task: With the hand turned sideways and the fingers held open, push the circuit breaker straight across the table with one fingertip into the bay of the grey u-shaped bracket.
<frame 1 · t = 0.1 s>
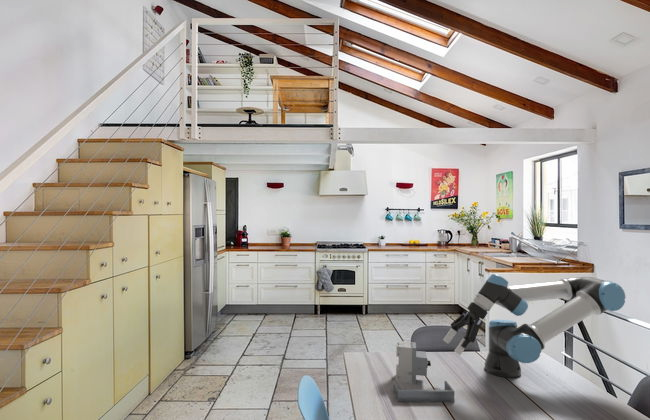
hand: (451, 347, 158), 15 cm above the table, tool tilted 35°, fingers open, 13 cm apart
grey u-shaped bracket: (420, 393, 149), on the table
circuit breaker: (413, 380, 161), on the table
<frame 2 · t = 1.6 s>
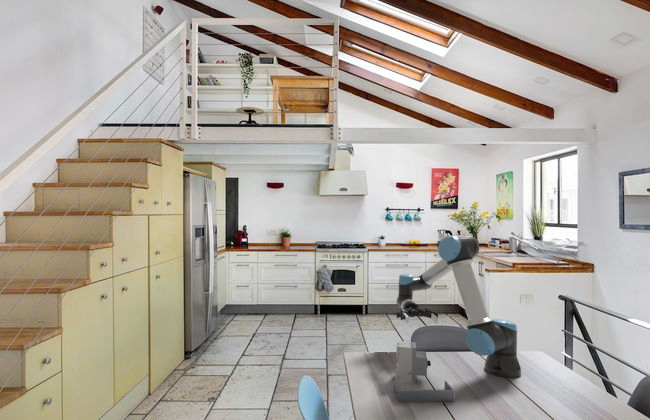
hand: (422, 320, 173), 22 cm above the table, tool horizontal, fingers open, 13 cm apart
nothing on the table moved.
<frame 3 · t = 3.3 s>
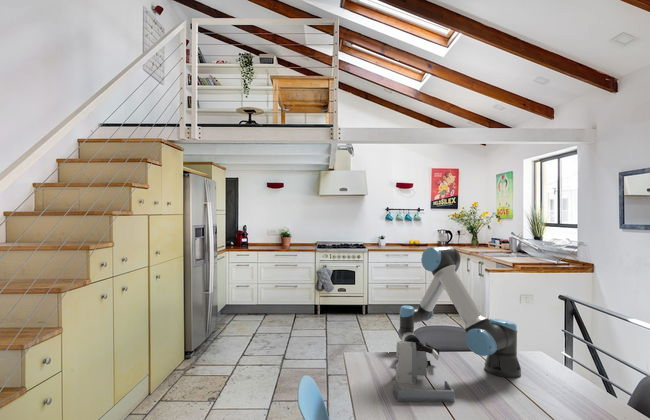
hand: (422, 357, 171), 6 cm above the table, tool horizontal, fingers open, 13 cm apart
nothing on the table moved.
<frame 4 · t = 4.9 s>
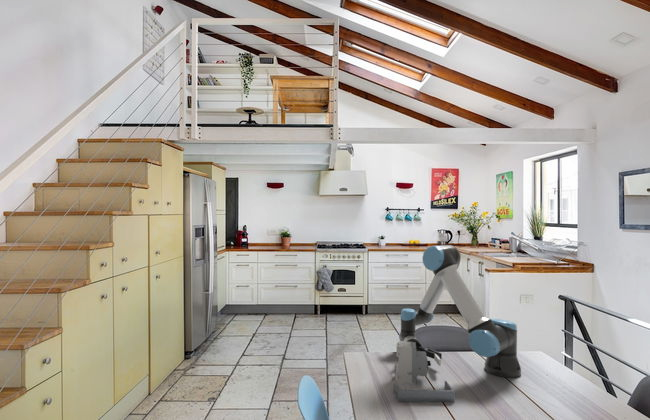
hand: (424, 362, 165), 6 cm above the table, tool horizontal, fingers open, 13 cm apart
circuit breaker: (413, 380, 161), on the table, touching gripper
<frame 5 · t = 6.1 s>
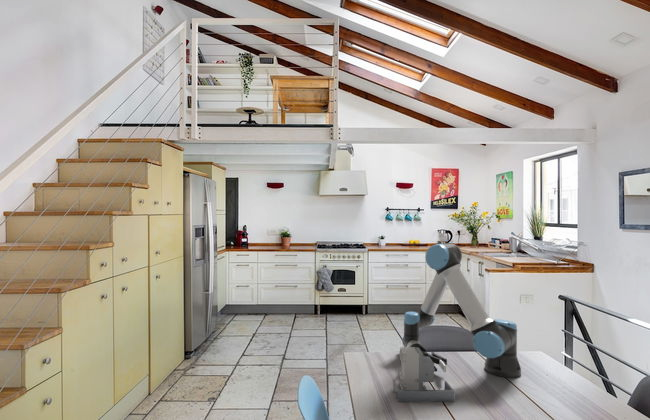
hand: (429, 368, 158), 6 cm above the table, tool horizontal, fingers open, 13 cm apart
circuit breaker: (418, 387, 154), on the table, touching gripper
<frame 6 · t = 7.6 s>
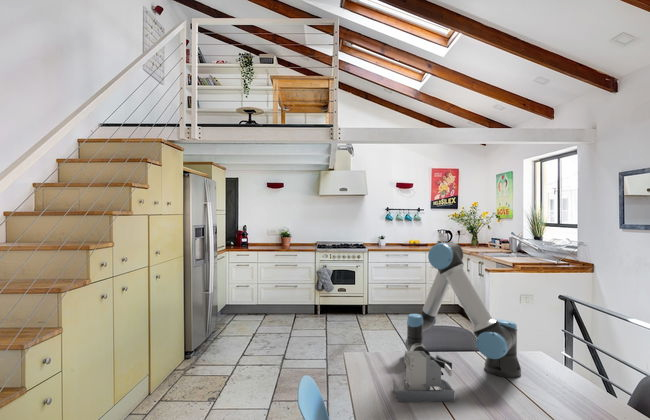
hand: (434, 373, 154), 6 cm above the table, tool horizontal, fingers open, 13 cm apart
circuit breaker: (423, 392, 150), on the table, touching gripper
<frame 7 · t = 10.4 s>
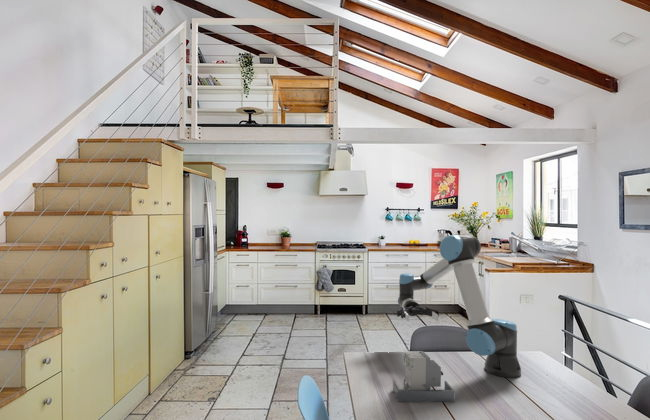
hand: (422, 317, 172), 24 cm above the table, tool horizontal, fingers open, 13 cm apart
circuit breaker: (423, 392, 150), on the table
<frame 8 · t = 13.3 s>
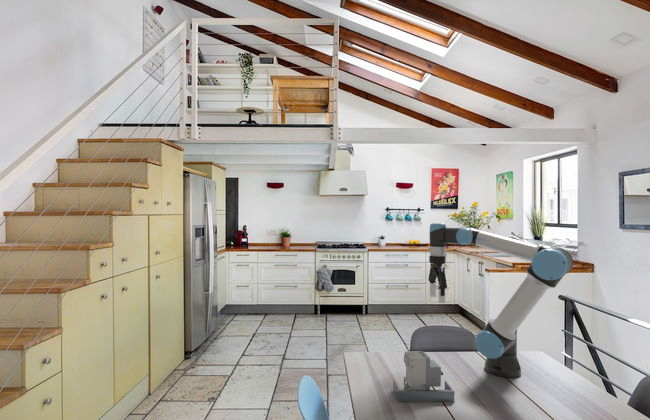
hand: (437, 299, 180), 31 cm above the table, tool pointing down, fingers open, 13 cm apart
nothing on the table moved.
at the end: circuit breaker inside the target area (1.4 cm from its centre), on the table; circuit breaker tilted 0°; the gripper is holding nothing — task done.
